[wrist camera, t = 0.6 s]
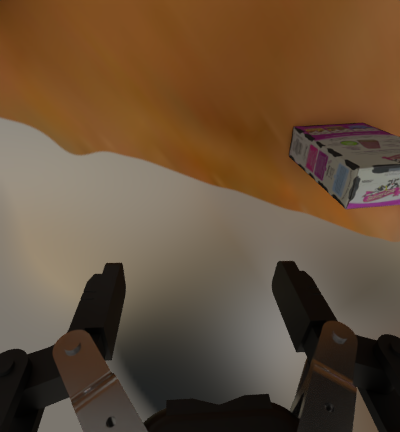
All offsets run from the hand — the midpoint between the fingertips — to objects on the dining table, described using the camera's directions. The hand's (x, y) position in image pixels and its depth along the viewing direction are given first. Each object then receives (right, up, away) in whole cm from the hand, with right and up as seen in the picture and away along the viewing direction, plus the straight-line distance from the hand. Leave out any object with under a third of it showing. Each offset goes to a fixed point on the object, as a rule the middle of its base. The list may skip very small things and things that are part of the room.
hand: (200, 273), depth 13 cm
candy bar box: (+19, +15, +27) cm, 36 cm away
